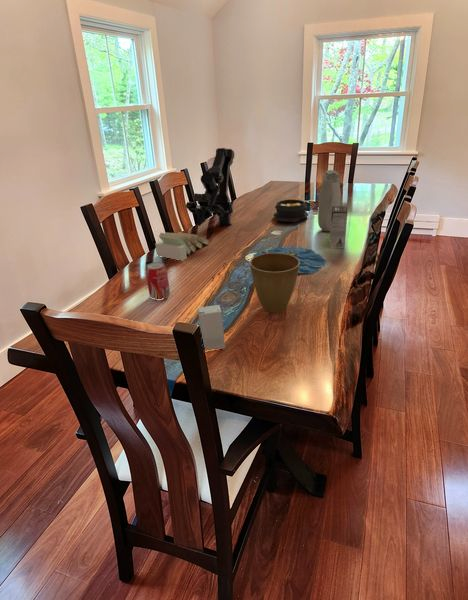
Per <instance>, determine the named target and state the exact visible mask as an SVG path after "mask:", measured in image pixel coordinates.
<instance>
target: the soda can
mask: <svg viewBox="0 0 468 600" xmlns="http://www.w3.org/2000/svg"><path fill="white" fill-rule="evenodd" d="M145 277H146V283H147V290H148V293H149V298H150V297H152V298H155V299H162V298H166V297H167V298H169V297H170V295H171V294H170V293H171V292H170V291H171V290H170V283H169V277H168V271H167V268H166V266H165V264H164V262H160V261H155V262H150V263H148V264H147V265H146V270H145ZM152 298H151V299H152ZM167 298H166V299H167Z"/></svg>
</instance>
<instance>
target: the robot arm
mask: <svg viewBox="0 0 468 600" xmlns="http://www.w3.org/2000/svg"><path fill="white" fill-rule="evenodd" d="M215 149H216V150H215V155H214V160H213V162H212V166H211V167H210V168H208V169H207V170H206V171H205V172H204V173H203V174H202V175H201V176H200V183H201V184H202V186H203V188H204V190H205V191H204V193H197V192H196V193H194V195H193V201H194V202H193V201H188V202H186V204H185V208H186V209H187V210H188V211H189V212H190V213H191V214H197V217H196V218H197V219H196V220H197V223H196V224H197V226H199V227H200V226H201V225H202V224H204V223H205V222H206V221H207V220H208V219H210V218H211V217H213V213H214V214H216V215H217V216H218V221H217V225H218V226H219V227H225V226H232V223H231V220H230V219H231V218H230V214H234V213H233V212H234V209H233V205H232V203H231V200H230V197H229V195H228V193H229V192H228V191H229V180H230V179H229V178H230V177H229V176H230V168H231V166H232V164H233V162H234V159H235V151H234V150H233V149H232V148H225V147H219V148H215ZM218 184H219V185H218ZM195 202H197V204H196V203H195Z"/></svg>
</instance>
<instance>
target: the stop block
mask: <svg viewBox="0 0 468 600" xmlns="http://www.w3.org/2000/svg"><path fill="white" fill-rule="evenodd" d="M155 251H156V256H157V255H158V256H162V257H166V258H171V259H176V260H181V261H183V260H185V259H187V260H188V257H187V255H188V254H186V246H183V245H178V244H172V243H166V242H163V241H157V242H156V243H155ZM166 258H165V259H166ZM171 259H170V260H171ZM176 260H175V261H176ZM181 261H180V262H181ZM185 261H186V260H185ZM183 262H184V261H183Z"/></svg>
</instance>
